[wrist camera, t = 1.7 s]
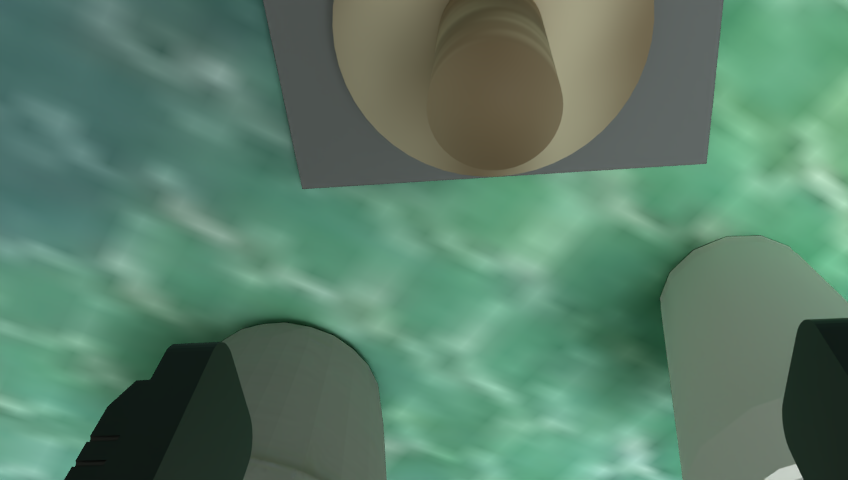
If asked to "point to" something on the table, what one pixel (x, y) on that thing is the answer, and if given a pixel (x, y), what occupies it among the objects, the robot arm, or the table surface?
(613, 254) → the table surface
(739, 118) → the table surface
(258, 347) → the potted plant
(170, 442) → the robot arm
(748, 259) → the foam cup
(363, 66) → the lid
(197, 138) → the table surface
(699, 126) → the mat
